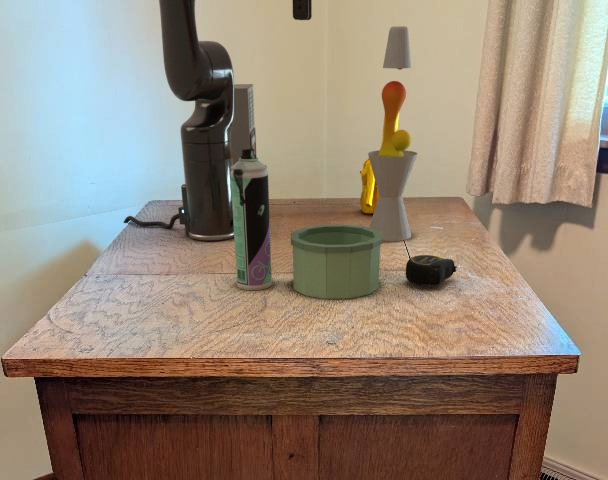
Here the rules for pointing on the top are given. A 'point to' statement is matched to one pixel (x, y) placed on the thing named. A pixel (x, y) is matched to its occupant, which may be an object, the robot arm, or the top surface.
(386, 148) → the lava lamp
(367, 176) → the figure statuette
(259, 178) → the spray can
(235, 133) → the tall labeled grey carton
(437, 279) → the tape measure
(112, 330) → the top surface
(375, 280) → the hollow green tube
